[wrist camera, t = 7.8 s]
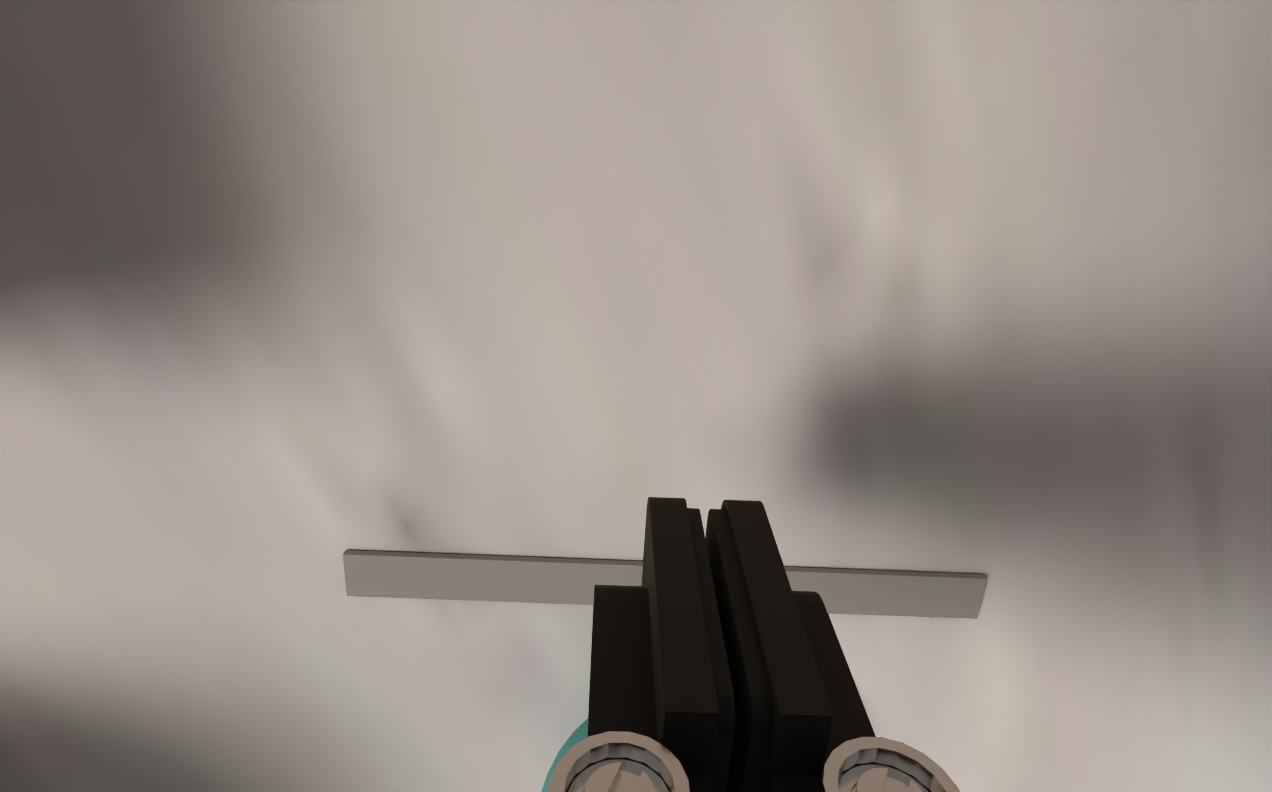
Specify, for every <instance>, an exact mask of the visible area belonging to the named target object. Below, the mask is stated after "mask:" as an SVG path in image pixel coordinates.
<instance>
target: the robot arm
mask: <svg viewBox="0 0 1272 792" xmlns="http://www.w3.org/2000/svg"><path fill="white" fill-rule="evenodd" d="M547 792H960V791H959V789H958V787H957V786H956V785H955V783H954V782H953V781H952V780H951V779H950V777H949V776H948V775H947V774H946V772H945V771H944V770H943V769H942V768H941V767H940V766H939V765H937V764H936V763H935V762H934V761H932V760H931V759H930V758H929V757H927V756H926V755H925V754H924V753H922V752H920V751H918V750H916V749H914V748H912V747H910V746H908V745H906V744H904V743H901V742H898V741H894V740H890V739H887V738H883V737H875V734H874V731H873V729H872V726H871V724H870V721H869V718H868V716H867V713H866V711H865V708H864V706H863V703H862V700H861V698H860V695H859V693H858V690H857V687H856V685H855V682H854V680H853V677H852V675H851V672H850V669H849V667H848V664H847V662H846V659H845V656H844V654H843V651H842V649H841V646H840V644H839V641H838V638H837V636H836V633H835V631H834V628H833V626H832V623H831V620H830V618H829V615H828V613H827V610H826V607H825V605H824V602H823V600H822V598H821V596H820V595H819V594H818V593H817V592H815V591H792V589H791V586H790V583H789V580H788V577H787V574H786V571H785V568H784V565H783V562H782V559H781V556H780V553H779V550H778V547H777V544H776V541H775V538H774V535H773V532H772V529H771V527H770V524H769V521H768V518H767V515H766V512H765V509H764V506H763V504H762V502H761V501H741V500H724V501H723V503H722V507H721V509H710V510H709V513H708V519H707V528H706V537H705V536H704V530H703V525H702V520H701V514H700V510H699V509H693V508H687V505H686V500H685V499H684V498H657V497H649V498H648V503H647V514H646V528H645V543H644V557H643V571H642V585H641V586H618V585H595V586H594V607H593V629H592V651H591V672H590V694H589V716H588V737H587V738H586V739H584V740H582V741H581V742H579V743H577V744H575V745H574V746H572V747H571V748H570V749H569V750H568V751H567V752H566V754H565V755H564V756H563V757H562V758H561V759H560V760H559V762H558V764H557V766H556V768H555V770H554V773H553V775H552V777H551V780H550V784H549V787H548V791H547Z"/></svg>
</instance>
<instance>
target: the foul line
mask: <svg viewBox="0 0 1272 792" xmlns="http://www.w3.org/2000/svg"><path fill="white" fill-rule="evenodd" d="M343 559H344V569H345V580H346V590H347V596H364V597H392V598H419V599H447V600H475V601H502V602H530V603H558V604H585V605H594V586H595V585H618V586H641V585H642V571H643V561H621V560H595V559H569V558H542V557H516V556H490V555H464V554H438V553H411V552H385V551H359V550H346V551H345V552H344V554H343ZM784 568H785V571H786V574H787V577H788V580H789V583H790V586H791V589H792V591H815V592H817V593H818V594H819V595H820V596H821V598H822V600H823V602H824V605H825V607H826V610H827V613H834V614H862V615H889V616H917V617H945V618H972V619H977V617H978V613H979V610H980V606H981V602H982V598H983V594H984V590H985V586H986V582H987V578H986V577H985V575H984V574H962V573H936V572H909V571H883V570H857V569H831V568H805V567H784Z"/></svg>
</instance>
